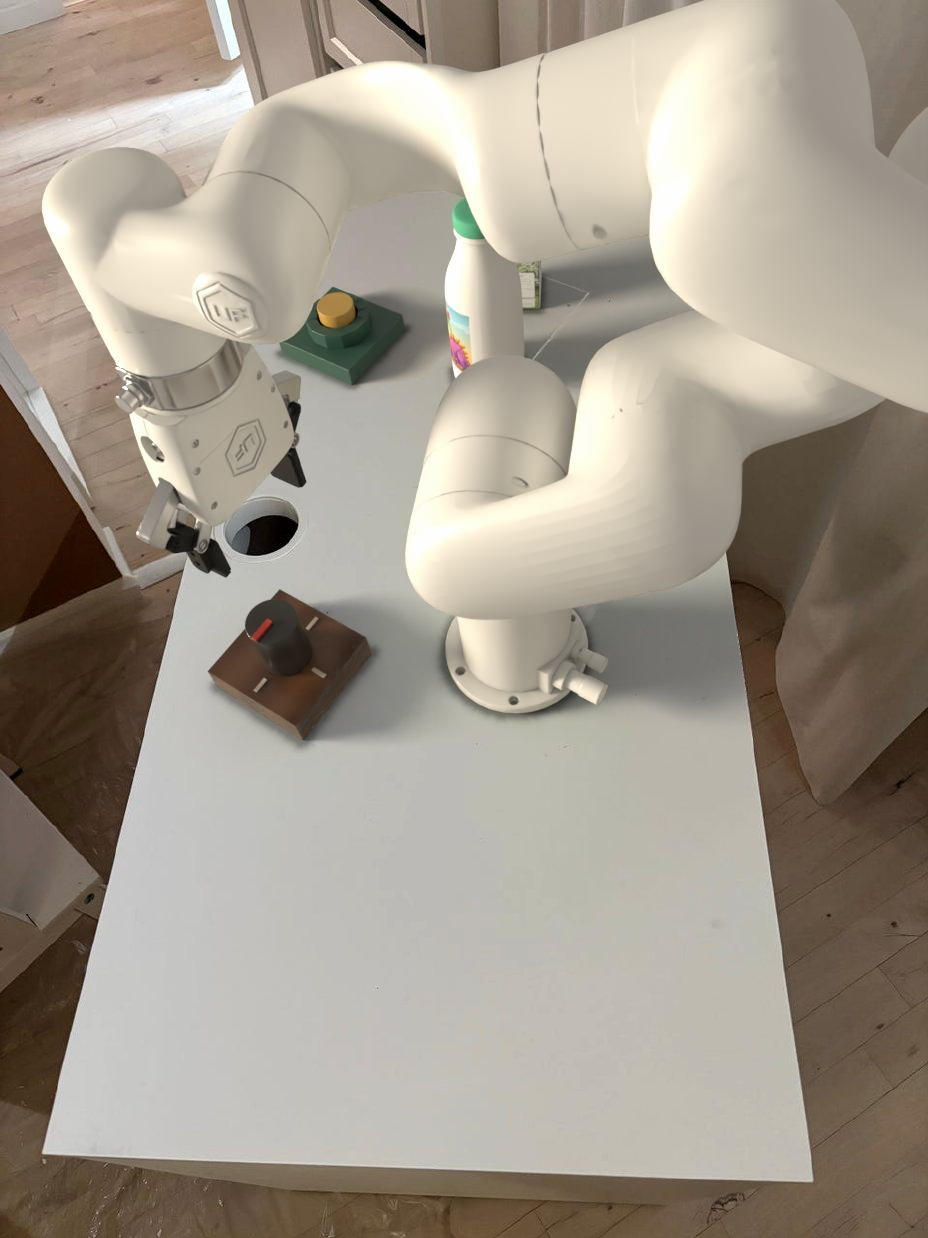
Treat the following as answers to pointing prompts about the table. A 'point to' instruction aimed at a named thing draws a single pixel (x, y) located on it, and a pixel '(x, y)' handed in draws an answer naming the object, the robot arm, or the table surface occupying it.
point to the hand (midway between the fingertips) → (252, 522)
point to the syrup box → (530, 284)
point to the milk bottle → (481, 297)
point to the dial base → (304, 692)
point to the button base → (345, 340)
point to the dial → (278, 637)
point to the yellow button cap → (336, 310)
